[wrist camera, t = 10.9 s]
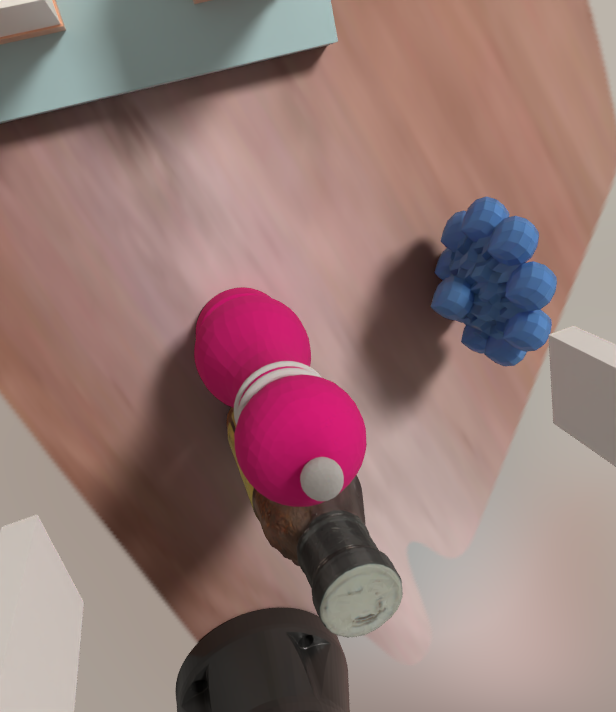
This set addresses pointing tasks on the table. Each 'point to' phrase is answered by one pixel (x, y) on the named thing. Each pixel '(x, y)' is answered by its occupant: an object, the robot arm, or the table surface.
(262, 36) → the pin board
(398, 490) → the table surface
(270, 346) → the pepper mill
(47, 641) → the robot arm
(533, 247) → the grapes
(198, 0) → the sleeve
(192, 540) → the table surface
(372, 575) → the sauce bottle
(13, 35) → the seated sleeve
